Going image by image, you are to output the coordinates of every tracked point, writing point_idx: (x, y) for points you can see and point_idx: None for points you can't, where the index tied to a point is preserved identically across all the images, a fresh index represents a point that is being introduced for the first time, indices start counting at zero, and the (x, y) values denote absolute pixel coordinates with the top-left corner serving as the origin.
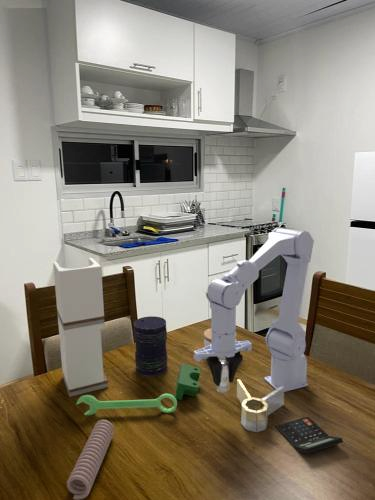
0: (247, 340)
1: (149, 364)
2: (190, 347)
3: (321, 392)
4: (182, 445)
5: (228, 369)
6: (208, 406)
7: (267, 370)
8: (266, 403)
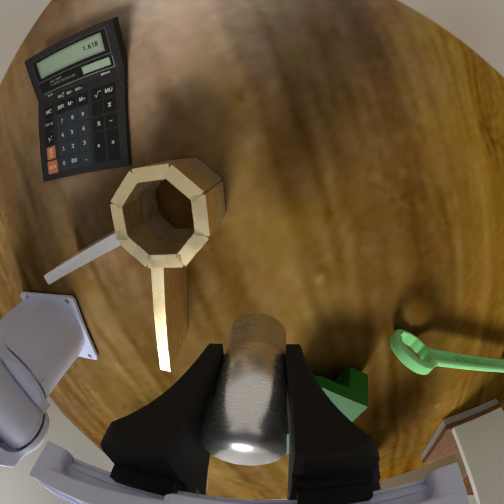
0: (57, 495)
1: None
2: (231, 476)
3: (7, 260)
4: (436, 192)
5: (223, 403)
6: (290, 324)
7: (88, 375)
8: (112, 212)
